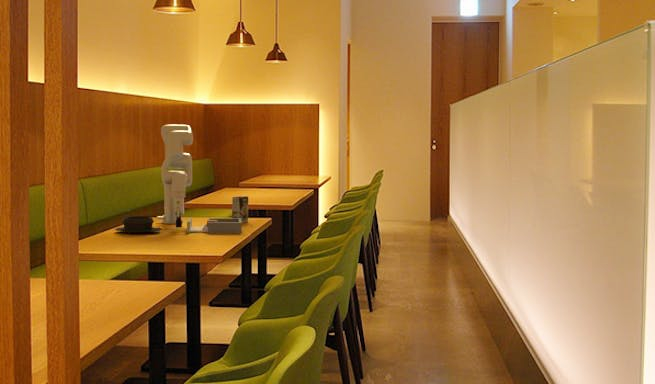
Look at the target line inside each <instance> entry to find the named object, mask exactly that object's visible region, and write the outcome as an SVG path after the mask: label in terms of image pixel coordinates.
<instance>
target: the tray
mask: <svg viewBox="0 0 655 384" xmlns="http://www.w3.org/2000/svg"><path fill="white" fill-rule="evenodd" d="M192 219H193V218H192V216H191V217H190V216H189V217H188V219H187V221H186V233H187V234H190V233H208V227H207V223H205V224H202V226H192Z"/></svg>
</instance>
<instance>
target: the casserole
mask: <svg viewBox="0 0 655 384" xmlns="http://www.w3.org/2000/svg"><path fill="white" fill-rule="evenodd" d="M154 222H155V221H154V219H153V217H152V216H145V215H144V216H143V215H136V216H135V215H134V216H133V215H132V216H126V217H123V221H122V222H121V223H123V226H122V227H117V228H115V229H114V230H115V231H117V232H118V231H119V232H126V233H128V234H132V235H143V234H148V233H151V232H152V233H153V232H159V231H161V230H162V228H161V227H153V224H154Z"/></svg>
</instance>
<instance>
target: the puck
mask: <svg viewBox="0 0 655 384" xmlns="http://www.w3.org/2000/svg"><path fill="white" fill-rule="evenodd" d="M208 222H218V221H217V220H209V219H207V220H206V224H207V227H208Z"/></svg>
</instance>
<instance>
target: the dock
mask: <svg viewBox="0 0 655 384" xmlns="http://www.w3.org/2000/svg"><path fill="white" fill-rule="evenodd" d="M208 220H217V221H218V222H208V232H207V234H242V224H243V223H242V222H241V218H232V217H226V218H225V217H224V218H223V217H221V218H220V217H218V218H217V217H212V218H211V217H210V218H208Z"/></svg>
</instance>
